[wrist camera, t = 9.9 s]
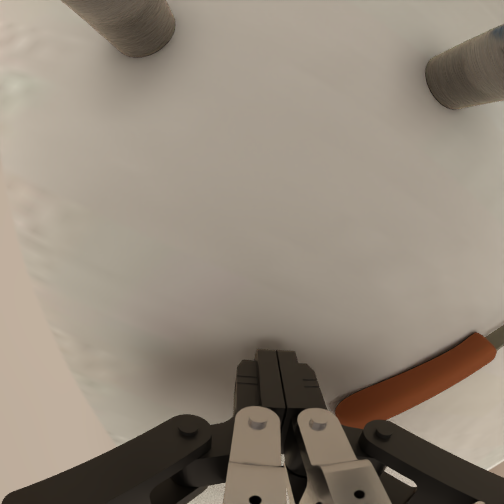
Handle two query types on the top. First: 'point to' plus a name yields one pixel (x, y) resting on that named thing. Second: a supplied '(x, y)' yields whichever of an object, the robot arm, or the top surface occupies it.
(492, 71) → the right post
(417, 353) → the top surface
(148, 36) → the left post
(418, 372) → the kitchen knife
